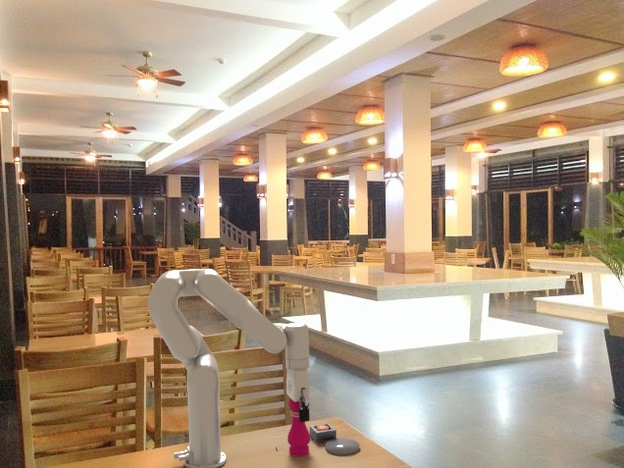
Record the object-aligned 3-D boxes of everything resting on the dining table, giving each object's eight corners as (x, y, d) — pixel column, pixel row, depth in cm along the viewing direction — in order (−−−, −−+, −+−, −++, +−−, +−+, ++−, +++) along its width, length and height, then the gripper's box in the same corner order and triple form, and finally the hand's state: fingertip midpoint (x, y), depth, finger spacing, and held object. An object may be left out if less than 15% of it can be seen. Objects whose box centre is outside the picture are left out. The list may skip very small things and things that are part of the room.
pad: (332, 457, 176) (332, 454, 176) (320, 444, 186) (320, 441, 186) (365, 451, 179) (365, 448, 179) (351, 439, 190) (351, 436, 190)
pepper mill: (311, 447, 183) (310, 386, 182) (309, 457, 176) (307, 393, 175) (289, 447, 184) (288, 386, 183) (286, 456, 177) (284, 393, 176)
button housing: (316, 443, 187) (316, 432, 186) (309, 435, 193) (309, 425, 193) (336, 440, 189) (336, 429, 189) (328, 432, 195) (328, 422, 195)
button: (319, 437, 188) (319, 430, 188) (315, 433, 192) (315, 426, 192) (330, 435, 190) (330, 428, 190) (326, 431, 194) (326, 424, 193)
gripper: (278, 357, 186) (280, 409, 186) (294, 371, 170) (296, 427, 170) (300, 355, 188) (302, 406, 189) (318, 367, 172) (320, 423, 173)
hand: (299, 416), depth 180 cm, fingers open, 9 cm apart
